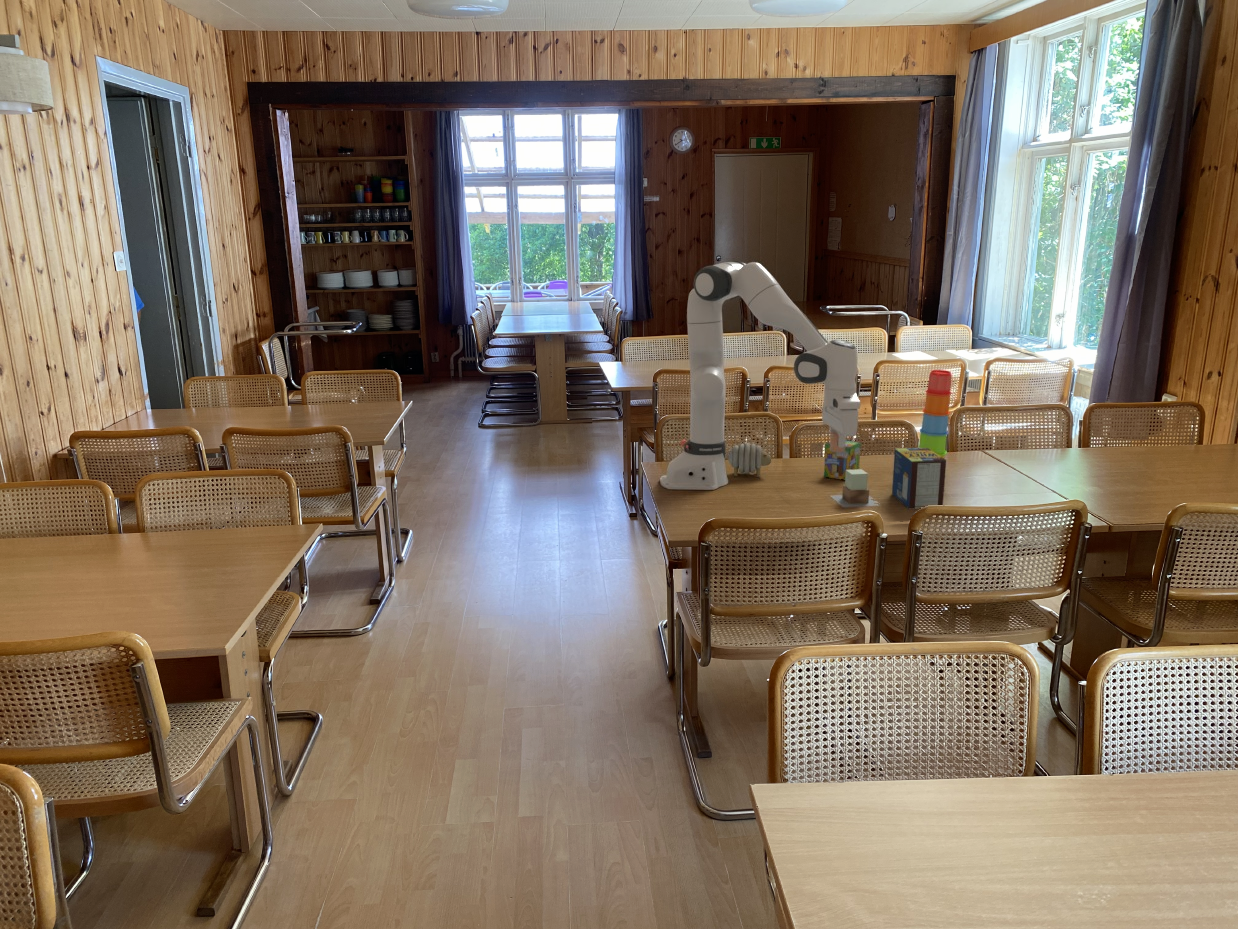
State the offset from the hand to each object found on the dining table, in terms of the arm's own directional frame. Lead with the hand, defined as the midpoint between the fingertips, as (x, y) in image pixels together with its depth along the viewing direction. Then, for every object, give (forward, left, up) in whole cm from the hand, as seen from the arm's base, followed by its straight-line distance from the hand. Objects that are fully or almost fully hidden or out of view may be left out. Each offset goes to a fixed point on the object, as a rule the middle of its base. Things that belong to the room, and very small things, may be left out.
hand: (837, 444), depth 262 cm
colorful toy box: (+15, +35, -20) cm, 43 cm away
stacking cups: (+46, +36, -20) cm, 62 cm away
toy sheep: (-16, +42, -20) cm, 50 cm away
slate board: (+9, +6, -20) cm, 23 cm away
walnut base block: (+9, +6, -19) cm, 22 cm away
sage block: (+9, +6, -15) cm, 19 cm away
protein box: (+27, +3, -20) cm, 34 cm away
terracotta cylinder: (0, 0, -2) cm, 2 cm away
